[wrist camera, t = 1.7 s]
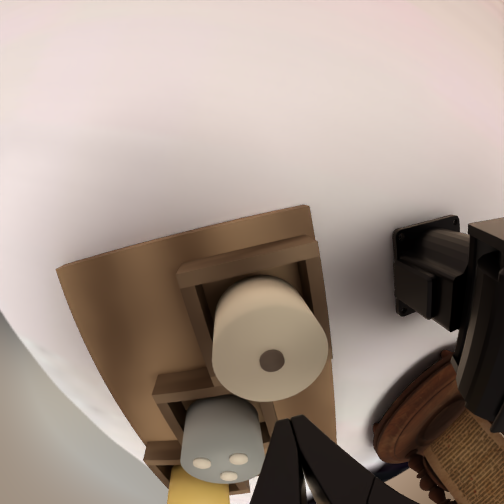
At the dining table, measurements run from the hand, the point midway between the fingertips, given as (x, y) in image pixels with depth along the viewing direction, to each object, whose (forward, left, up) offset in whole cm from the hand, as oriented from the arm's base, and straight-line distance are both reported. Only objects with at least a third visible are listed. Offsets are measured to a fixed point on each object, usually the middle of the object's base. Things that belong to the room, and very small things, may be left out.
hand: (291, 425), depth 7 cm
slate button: (+4, +7, -8) cm, 11 cm away
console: (+4, +6, -11) cm, 13 cm away
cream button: (0, 0, -8) cm, 8 cm away
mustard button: (+8, +14, -8) cm, 18 cm away
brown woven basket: (-15, +17, -11) cm, 25 cm away
